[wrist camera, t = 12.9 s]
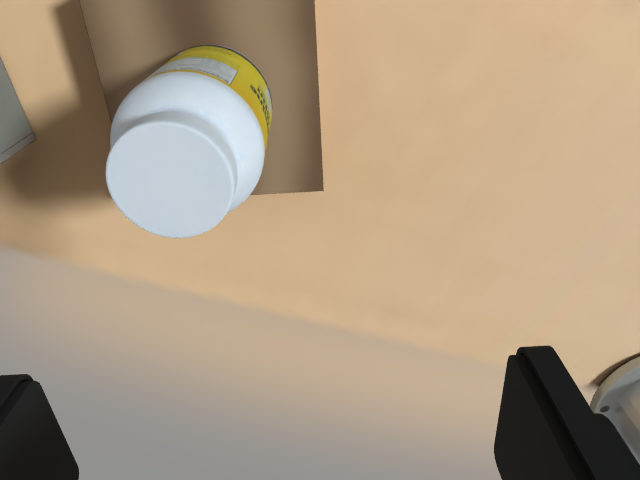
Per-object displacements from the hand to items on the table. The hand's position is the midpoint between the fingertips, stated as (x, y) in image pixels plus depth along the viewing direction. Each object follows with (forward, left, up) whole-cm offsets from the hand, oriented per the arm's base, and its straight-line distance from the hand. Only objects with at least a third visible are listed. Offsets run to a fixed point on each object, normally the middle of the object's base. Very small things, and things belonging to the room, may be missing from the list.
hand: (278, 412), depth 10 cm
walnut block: (+4, -1, -25) cm, 25 cm away
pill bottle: (+4, -1, -22) cm, 22 cm away
